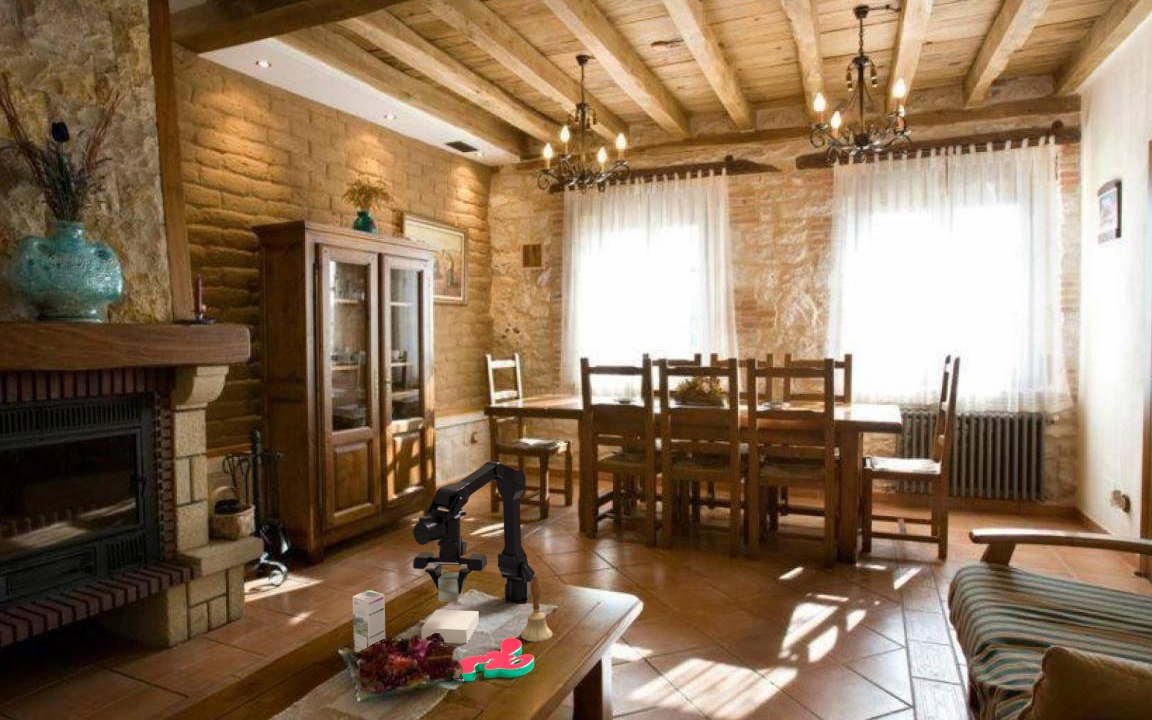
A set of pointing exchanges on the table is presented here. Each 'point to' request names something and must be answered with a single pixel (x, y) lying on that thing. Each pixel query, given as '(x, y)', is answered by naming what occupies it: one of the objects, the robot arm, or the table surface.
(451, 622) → the cream block
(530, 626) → the hand bell
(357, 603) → the syrup box
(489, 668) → the squiggly shape
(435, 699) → the table surface
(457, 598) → the green block
